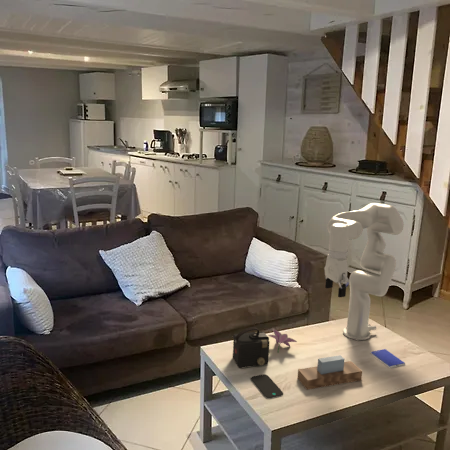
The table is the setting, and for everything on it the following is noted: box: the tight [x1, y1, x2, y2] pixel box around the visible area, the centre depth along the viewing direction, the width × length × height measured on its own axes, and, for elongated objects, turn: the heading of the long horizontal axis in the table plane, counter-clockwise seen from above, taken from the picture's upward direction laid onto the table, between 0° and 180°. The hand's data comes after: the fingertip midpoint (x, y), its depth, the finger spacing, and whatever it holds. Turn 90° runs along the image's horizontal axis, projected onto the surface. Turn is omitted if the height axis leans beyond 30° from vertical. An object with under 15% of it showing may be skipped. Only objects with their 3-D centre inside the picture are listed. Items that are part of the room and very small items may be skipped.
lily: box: [267, 328, 298, 352], centre depth 210 cm, size 12×12×10 cm
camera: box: [232, 326, 270, 369], centre depth 197 cm, size 11×14×15 cm
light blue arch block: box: [316, 354, 346, 375], centre depth 187 cm, size 10×3×9 cm, turn 109°
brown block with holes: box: [297, 360, 363, 390], centre depth 187 cm, size 24×8×4 cm, turn 109°
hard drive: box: [370, 348, 406, 369], centre depth 205 cm, size 2×8×12 cm
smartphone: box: [250, 373, 284, 400], centre depth 182 cm, size 8×1×15 cm
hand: (335, 292), depth 199 cm, fingers open, 9 cm apart
